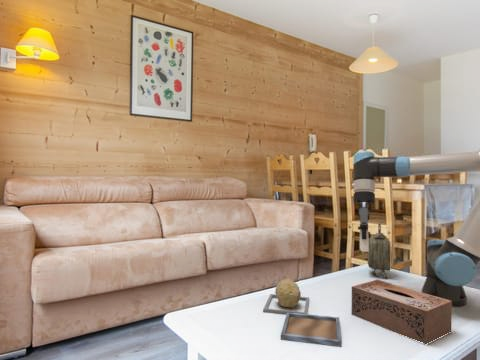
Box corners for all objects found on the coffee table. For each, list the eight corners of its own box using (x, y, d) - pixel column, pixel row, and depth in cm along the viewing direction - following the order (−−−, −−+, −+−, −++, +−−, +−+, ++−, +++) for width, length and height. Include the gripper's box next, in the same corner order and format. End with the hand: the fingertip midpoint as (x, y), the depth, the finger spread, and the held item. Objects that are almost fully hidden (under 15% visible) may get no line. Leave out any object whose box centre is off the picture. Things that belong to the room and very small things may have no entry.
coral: (302, 282, 133) (301, 279, 124) (299, 310, 129) (298, 308, 120) (278, 278, 135) (275, 274, 126) (274, 305, 132) (271, 304, 123)
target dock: (339, 321, 114) (339, 317, 114) (341, 346, 97) (341, 341, 97) (287, 316, 118) (287, 312, 118) (280, 339, 102) (280, 334, 101)
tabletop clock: (390, 280, 159) (391, 225, 158) (369, 278, 161) (369, 225, 161) (386, 272, 172) (387, 221, 172) (367, 270, 175) (367, 221, 175)
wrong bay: (309, 300, 133) (309, 297, 133) (306, 316, 118) (306, 313, 118) (270, 296, 137) (270, 294, 137) (263, 312, 122) (263, 309, 122)
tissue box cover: (351, 315, 120) (351, 286, 120) (376, 306, 128) (377, 279, 128) (426, 346, 98) (426, 311, 98) (451, 333, 107) (451, 301, 106)
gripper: (354, 198, 142) (354, 251, 137) (351, 184, 119) (351, 247, 114) (374, 199, 139) (375, 252, 135) (375, 184, 117) (376, 248, 112)
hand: (364, 250), depth 124 cm, fingers open, 13 cm apart
